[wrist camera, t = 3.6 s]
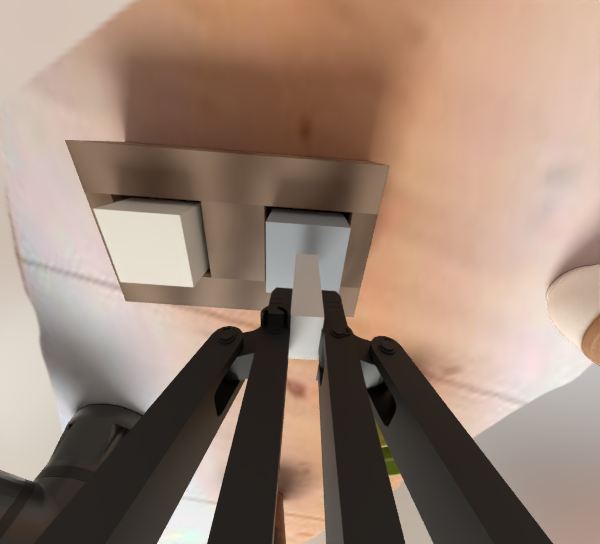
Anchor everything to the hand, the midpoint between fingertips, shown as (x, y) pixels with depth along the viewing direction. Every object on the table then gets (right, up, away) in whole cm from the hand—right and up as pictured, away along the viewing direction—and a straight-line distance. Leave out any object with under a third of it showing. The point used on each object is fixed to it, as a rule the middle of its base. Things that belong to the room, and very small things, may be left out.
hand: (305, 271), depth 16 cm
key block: (-6, +5, +9) cm, 12 cm away
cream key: (-12, +4, +5) cm, 13 cm away
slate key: (0, +3, +5) cm, 5 cm away
